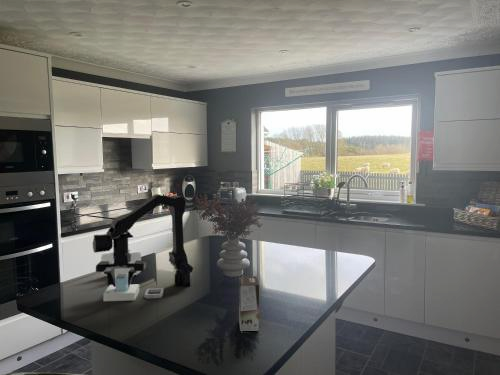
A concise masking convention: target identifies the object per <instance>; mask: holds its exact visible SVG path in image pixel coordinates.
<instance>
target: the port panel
mask: <svg viewBox="0 0 500 375" xmlns="http://www.w3.org/2000/svg"><path fill="white" fill-rule="evenodd" d="M139 293H140V284H137V283H135V284H134V283H133V284H130V286H129V287H128V291H116V286H115V287H114V286H113V284H109V285H108V287H107V288H106V290H105V291H104V292H103V294H102V295H103V302H116V301H117V302H121V301H122V302H123V301H125V302H127V301H136V298H137V297H138V294H139Z"/></svg>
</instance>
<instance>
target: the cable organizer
mask: <svg viewBox="0 0 500 375" xmlns="http://www.w3.org/2000/svg"><path fill="white" fill-rule="evenodd" d="M128 250H129V253H130V254H131V261H130V262H129V263H135V261H142V254H141V252H140V251H138V250H134V251H132V250H131V249H129V248H128ZM113 253H114V252H113V250H112V251H111V250H110V251H105V252H104V253H102V255H101V257H100V261H109V264H114V259H113ZM129 271H130V268H115V272H114V273H115V279H116V277H117V275H118V274H126V275H128V272H129ZM104 272H105V271H104ZM104 272H101V275H103V276H104V277H108V276H107V274H104ZM141 272H142V271H137V272H136V273H134V274H133V277H135V276H134V275H136V276H138V275H139V274H140V273H141Z"/></svg>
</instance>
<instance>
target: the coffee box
mask: <svg viewBox="0 0 500 375" xmlns="http://www.w3.org/2000/svg"><path fill="white" fill-rule="evenodd" d="M238 279H239V280H238V281H239V282H238V283H239V284H238V286H239V290H238V291H239V292H238V302H239V304H238V305H239V306H238V308H239V310H238V311H239V312H238V320H239V321H238V323H239V332H240V331H241V332H240V333H243V332H242V331H258V330H260V329H259V328H260V326H259V325H260V322H259V321H260V283H259V279H258V277H257V276H253V275H251V276H239V277H238ZM258 332H259V331H258Z"/></svg>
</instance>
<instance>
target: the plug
mask: <svg viewBox="0 0 500 375" xmlns="http://www.w3.org/2000/svg"><path fill="white" fill-rule="evenodd" d="M115 285H116V291H128V275H126V274H118V275H117V277H116V279H115Z"/></svg>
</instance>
